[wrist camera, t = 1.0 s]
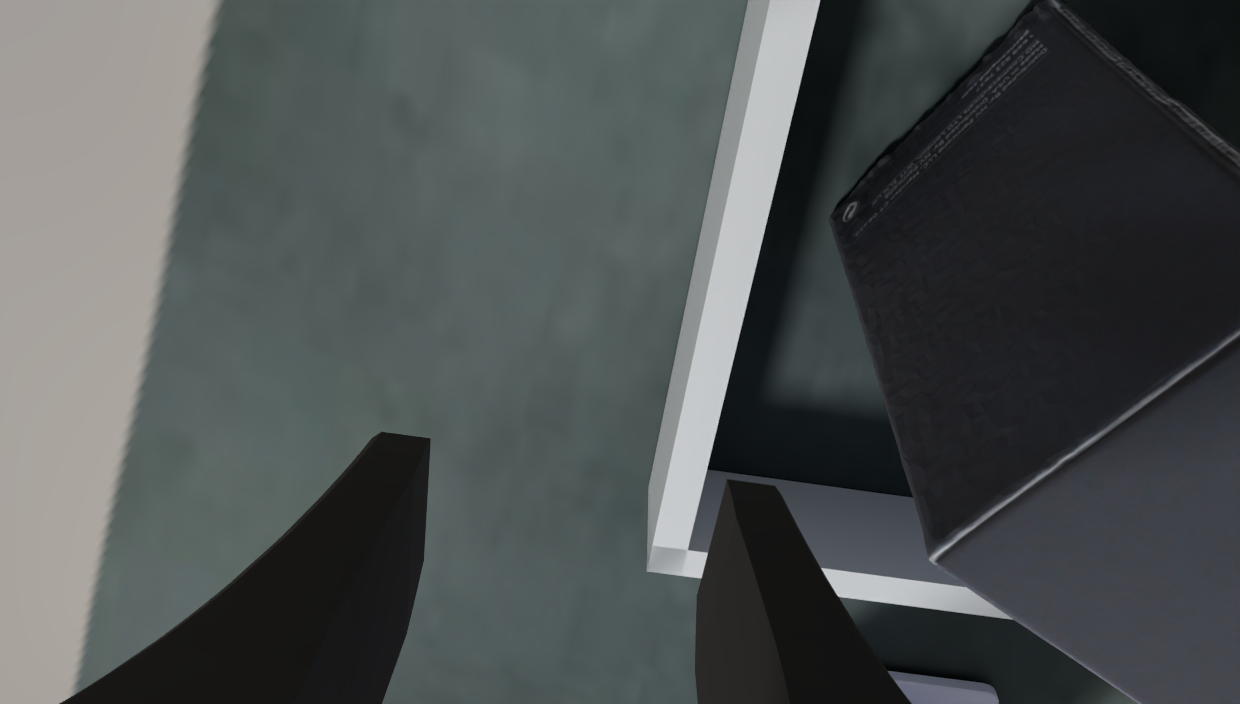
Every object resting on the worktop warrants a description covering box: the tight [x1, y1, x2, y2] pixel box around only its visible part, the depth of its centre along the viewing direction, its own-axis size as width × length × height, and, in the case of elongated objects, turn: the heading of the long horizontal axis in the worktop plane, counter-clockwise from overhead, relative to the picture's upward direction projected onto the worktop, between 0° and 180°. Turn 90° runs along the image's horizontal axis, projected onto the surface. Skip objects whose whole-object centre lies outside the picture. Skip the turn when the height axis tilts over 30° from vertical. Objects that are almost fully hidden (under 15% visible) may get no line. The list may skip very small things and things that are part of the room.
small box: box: [829, 0, 1240, 704], centre depth 18 cm, size 11×6×10 cm, turn 52°
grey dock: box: [647, 0, 1014, 620], centre depth 21 cm, size 16×16×3 cm
